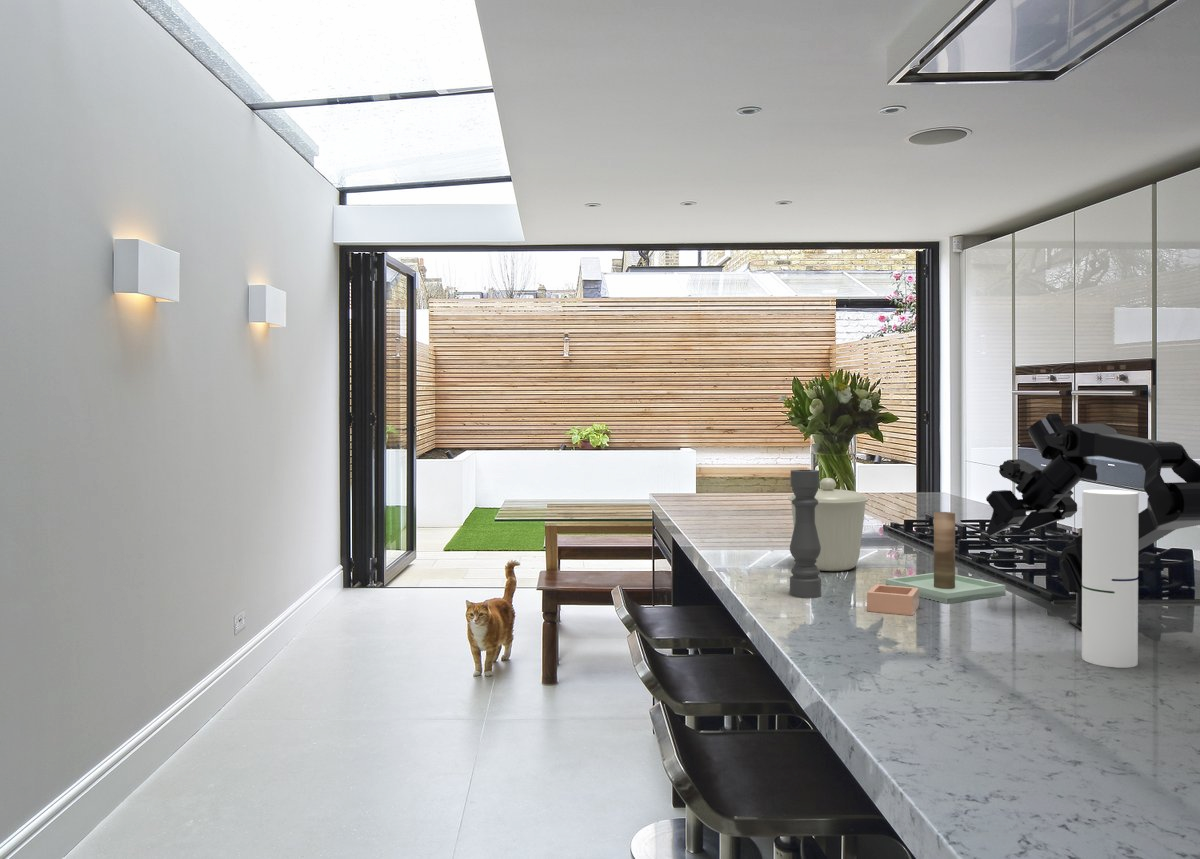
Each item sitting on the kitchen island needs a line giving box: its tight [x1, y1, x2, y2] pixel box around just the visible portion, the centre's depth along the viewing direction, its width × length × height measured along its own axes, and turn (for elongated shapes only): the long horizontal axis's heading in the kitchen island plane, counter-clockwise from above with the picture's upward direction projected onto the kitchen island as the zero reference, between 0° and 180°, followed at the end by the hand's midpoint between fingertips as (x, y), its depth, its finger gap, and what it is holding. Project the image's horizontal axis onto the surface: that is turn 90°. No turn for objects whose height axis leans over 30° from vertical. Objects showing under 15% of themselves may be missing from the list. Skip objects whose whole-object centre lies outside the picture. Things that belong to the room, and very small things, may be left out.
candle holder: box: [789, 469, 822, 599], centre depth 177 cm, size 6×6×25 cm
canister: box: [788, 477, 869, 572], centre depth 205 cm, size 18×18×21 cm
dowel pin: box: [933, 511, 956, 589], centre depth 178 cm, size 4×4×15 cm
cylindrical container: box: [1081, 489, 1140, 669], centre depth 129 cm, size 7×7×25 cm
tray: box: [885, 572, 1007, 605], centre depth 178 cm, size 16×16×2 cm
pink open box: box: [866, 584, 920, 616], centre depth 164 cm, size 8×8×4 cm
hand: (1004, 532), depth 168 cm, fingers open, 9 cm apart
